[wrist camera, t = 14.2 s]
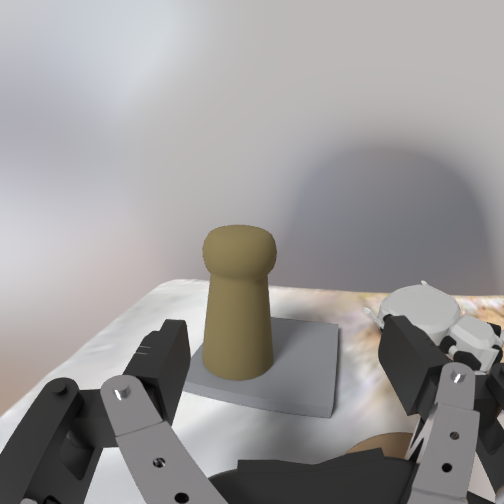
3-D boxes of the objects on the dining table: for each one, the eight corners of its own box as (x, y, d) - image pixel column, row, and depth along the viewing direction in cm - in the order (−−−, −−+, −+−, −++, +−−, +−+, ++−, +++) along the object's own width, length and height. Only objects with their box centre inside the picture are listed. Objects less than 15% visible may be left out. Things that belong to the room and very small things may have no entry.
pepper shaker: (241, 330, 28) (244, 216, 24) (288, 358, 23) (302, 230, 20) (188, 352, 24) (180, 225, 20) (233, 391, 19) (234, 245, 16)
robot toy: (503, 355, 21) (411, 305, 34) (519, 322, 20) (420, 273, 32) (466, 416, 16) (351, 337, 28) (492, 377, 14) (361, 299, 26)
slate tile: (336, 333, 29) (338, 324, 29) (330, 418, 18) (332, 407, 17) (228, 320, 32) (227, 311, 32) (177, 389, 21) (174, 378, 21)
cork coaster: (447, 435, 14) (451, 428, 14) (465, 533, 6) (472, 529, 6) (332, 437, 16) (334, 431, 16) (315, 551, 8) (318, 549, 8)
